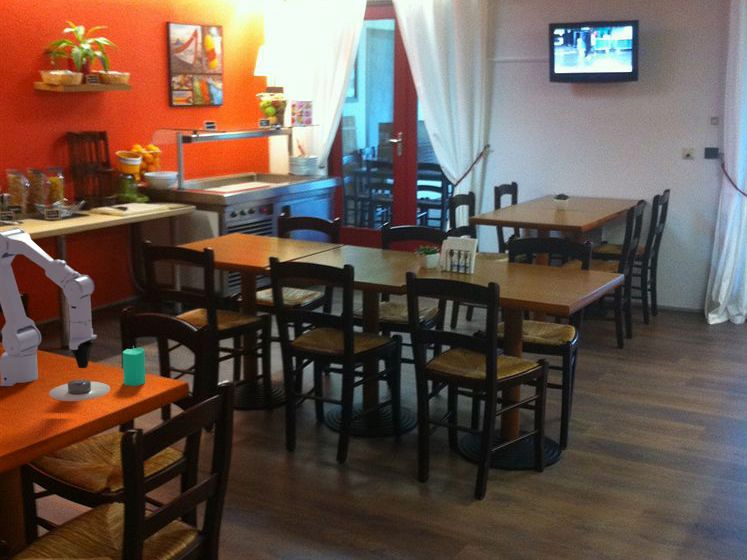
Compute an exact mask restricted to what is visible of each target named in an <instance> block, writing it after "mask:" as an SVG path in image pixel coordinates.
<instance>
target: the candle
mask: <svg viewBox="0 0 747 560" xmlns="http://www.w3.org/2000/svg"><path fill="white" fill-rule="evenodd" d="M145 355H146V354H145V349H144V348H142V347H136V348H135V346H134V345H133V346H132V348H131V349H130V348H126V349H125V350H123V351H122V367H123V368H122V370H123V384H124V385H126V386H132V387H134V386H135V387H136V386H141V385H143V384H145V383H146V361H145Z"/></svg>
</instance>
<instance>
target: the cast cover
mask: <svg viewBox="0 0 747 560" xmlns="http://www.w3.org/2000/svg"><path fill="white" fill-rule="evenodd" d="M91 382H92V381H91V380H89V379H83V378H82V379H81V378H79V379H74V380H73V379H72V380H70V381H69V382H67V384H68V393H69V394H72V395H81V394H86V393H89V392H90V391H91Z"/></svg>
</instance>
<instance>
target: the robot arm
mask: <svg viewBox="0 0 747 560" xmlns="http://www.w3.org/2000/svg"><path fill="white" fill-rule="evenodd" d="M18 255H24V256H25V257H26V258H28V259H29V260H30V261H31V262H34V263H35V264H37V265H38V266H40V268H42V269H44V271H45V272H44V273H45V276H46V277H47V278H48V279H50V280H51V281H53V283H55V284H56V285H57V286H59V288H61V289H62V291H63V294H64V296H65V297H66V301H67V302H66V303H67V304H68V311H69V312H68V313H69V315H68V316H69V331H70V332H69V333H70V336H69V343H68V348H69V350H71V352H72V353H73V355H74V358H75V361H76V364H77V368H78V369H86V368H88V365H89V360H90V355H91V351H92V348H93V347H94V344H95V341H94V340H95V339H97V337H98V336H97V334H94V328H93V325H92V324H93V322H92V303H91V301H92V300H91V295H92V294H93V292H94V291H95V283H94V280H93V279H92V278H91V277H90V276H89V275H87V274H80V273H79V272H78V271H75V270H74V269H73V268H72V267H70V266H69V265H67V261H65V260H64V259H63V260H61V259H54V258H52V256H50V255H49V254H48V253H47V252H45V251H44V250H43V249H42V248H41V247H40V246H39V245H37V244H36V242H34V241H33V240H32V239H31V235H30V234H29V233H28V232H26V231H25V230H24V229H23V228H20V227H13V228H10V229H9V228H8V229H5V230H2V231H0V306H1V309H2V314H3V316H4V319H5V324H4V325H3V327H2V329H1V330H0V333H1V337H2V341H1V344H2V347H3V348H2V349H3V350H4V351H5V352H2V354H1V356H0V382H1V383H0V387H13V386H14V385H16V383H18V384H19V383H20V384H22V383H23V384H24V383H30V382H33V381H36V380H38V378H39V374H38V373H39V371H38V357H37V356H38V354H37V350H38V346H39V345H40V344H41V342H42V334H41V332H40V330H39V329H38V328H37V327H36V324H35V321H34V320H33V319H31V318H30V317H27V314H26V311H25V308H24V304H23V301H22V298H21V294H20V291H19V288H18V285H17V282H16V278H15V274H14V271H13V267H12V265H11V264H12V262H13V260H14V259H15V257H16V256H18Z"/></svg>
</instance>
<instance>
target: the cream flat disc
mask: <svg viewBox="0 0 747 560" xmlns="http://www.w3.org/2000/svg"><path fill="white" fill-rule="evenodd" d="M90 382H91V391H90V392H89V393H86V394H81V395H72V394H69V393H68V383H64V384H61V385H58V386H56V387H54V388H52V389H51V390H50V391H49V393H48V395H49V397H50V398H52V399H55V400H59V401H63V402H80V401H82V402H83V401H88V400H93V399H97V398H100V397H103V396H105V395H107V394H108V393H109V392H110V391H111V387H110V386H109V385H108V384H106V383H103V382H99V381H90Z"/></svg>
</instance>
